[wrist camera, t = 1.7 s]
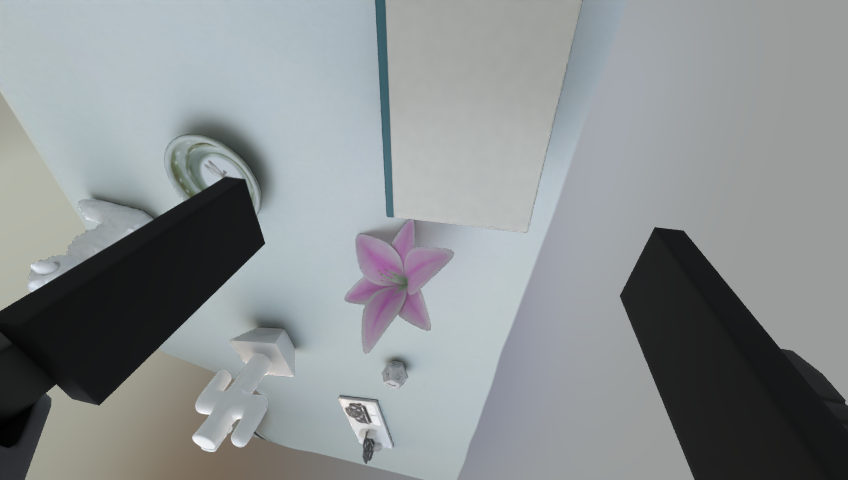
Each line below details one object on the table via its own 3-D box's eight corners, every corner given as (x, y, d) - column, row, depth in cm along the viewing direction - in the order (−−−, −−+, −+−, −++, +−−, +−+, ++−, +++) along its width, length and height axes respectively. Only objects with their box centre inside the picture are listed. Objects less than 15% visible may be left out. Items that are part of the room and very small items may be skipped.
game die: (388, 354, 46) (381, 373, 44) (413, 363, 46) (408, 382, 44) (383, 367, 48) (376, 386, 46) (407, 376, 48) (402, 395, 46)
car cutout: (393, 445, 62) (387, 473, 58) (360, 440, 63) (351, 467, 59) (376, 400, 53) (367, 428, 50) (339, 395, 55) (327, 423, 51)
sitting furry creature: (87, 196, 40) (-47, 256, 30) (136, 184, 37) (6, 245, 27) (142, 259, 44) (42, 328, 35) (189, 252, 42) (95, 324, 32)
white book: (394, -12, 18) (373, -16, 15) (571, -9, 16) (586, -14, 13) (399, 193, 24) (386, 216, 22) (524, 206, 23) (527, 233, 20)
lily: (481, 222, 32) (435, 235, 24) (469, 332, 35) (424, 378, 27) (382, 208, 38) (318, 215, 30) (378, 303, 41) (318, 334, 32)
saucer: (182, 190, 36) (164, 200, 34) (182, 108, 31) (161, 114, 29) (265, 230, 37) (252, 242, 35) (280, 158, 32) (265, 168, 30)
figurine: (239, 319, 48) (150, 423, 36) (296, 322, 46) (222, 434, 34) (259, 351, 52) (186, 455, 40) (313, 356, 50) (252, 467, 38)
